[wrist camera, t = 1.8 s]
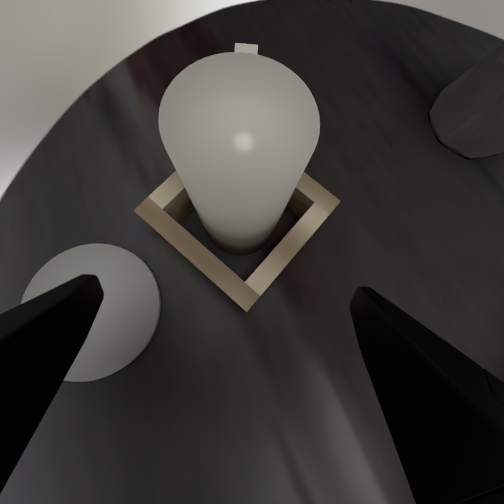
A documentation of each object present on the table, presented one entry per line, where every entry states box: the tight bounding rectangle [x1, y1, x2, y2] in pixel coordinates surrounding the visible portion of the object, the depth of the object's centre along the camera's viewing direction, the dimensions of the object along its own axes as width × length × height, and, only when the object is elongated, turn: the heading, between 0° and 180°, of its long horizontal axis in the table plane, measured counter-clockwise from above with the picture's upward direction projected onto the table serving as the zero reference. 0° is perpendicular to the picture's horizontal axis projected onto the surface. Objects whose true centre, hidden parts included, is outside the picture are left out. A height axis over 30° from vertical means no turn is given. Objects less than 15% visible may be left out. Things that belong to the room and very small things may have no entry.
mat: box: [21, 244, 162, 382], centre depth 19 cm, size 11×11×1 cm
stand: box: [134, 171, 340, 312], centre depth 20 cm, size 11×11×4 cm
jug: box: [158, 43, 320, 255], centre depth 16 cm, size 9×6×13 cm
